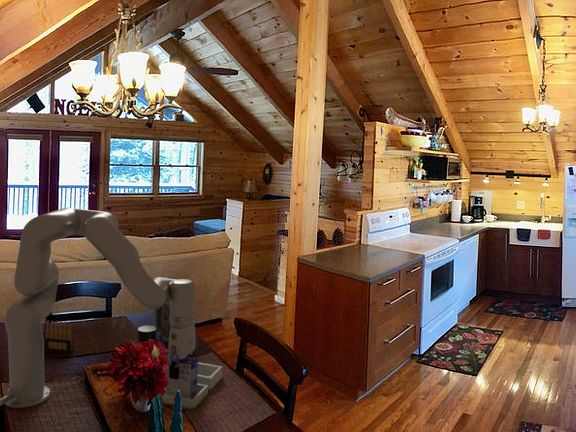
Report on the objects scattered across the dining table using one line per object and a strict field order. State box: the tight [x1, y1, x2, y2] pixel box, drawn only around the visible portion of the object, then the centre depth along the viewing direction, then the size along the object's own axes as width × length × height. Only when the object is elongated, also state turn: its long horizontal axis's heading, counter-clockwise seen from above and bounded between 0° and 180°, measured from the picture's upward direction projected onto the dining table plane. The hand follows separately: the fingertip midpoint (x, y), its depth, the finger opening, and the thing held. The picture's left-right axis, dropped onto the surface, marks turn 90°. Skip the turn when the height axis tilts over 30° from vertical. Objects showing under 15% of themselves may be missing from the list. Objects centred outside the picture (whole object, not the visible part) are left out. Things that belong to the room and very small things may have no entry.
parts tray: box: [162, 383, 209, 411], centre depth 154 cm, size 10×14×3 cm
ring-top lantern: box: [155, 300, 170, 339], centre depth 198 cm, size 14×9×25 cm, turn 37°
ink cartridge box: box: [165, 355, 199, 399], centre depth 154 cm, size 10×6×14 cm, turn 76°
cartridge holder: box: [197, 361, 224, 391], centre depth 167 cm, size 10×14×4 cm
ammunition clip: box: [44, 319, 74, 354], centre depth 184 cm, size 11×2×12 cm, turn 83°
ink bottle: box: [134, 324, 160, 344], centre depth 180 cm, size 10×9×12 cm
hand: (180, 372), depth 153 cm, fingers open, 8 cm apart
